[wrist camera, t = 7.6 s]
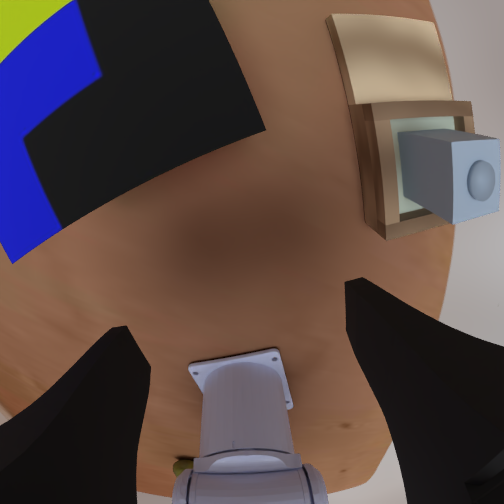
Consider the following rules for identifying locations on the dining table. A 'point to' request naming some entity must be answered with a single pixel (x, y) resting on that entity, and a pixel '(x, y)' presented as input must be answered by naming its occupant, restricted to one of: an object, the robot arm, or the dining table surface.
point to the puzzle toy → (107, 104)
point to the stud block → (451, 172)
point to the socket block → (393, 108)
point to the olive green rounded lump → (182, 466)
